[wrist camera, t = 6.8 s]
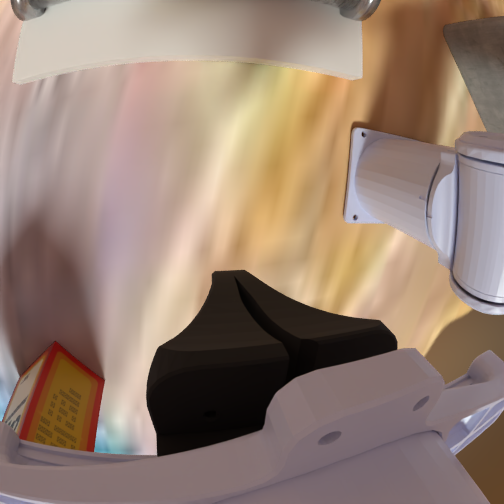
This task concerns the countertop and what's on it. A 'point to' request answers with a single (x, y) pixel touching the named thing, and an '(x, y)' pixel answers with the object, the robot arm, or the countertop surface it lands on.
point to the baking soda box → (56, 402)
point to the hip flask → (481, 65)
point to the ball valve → (350, 3)
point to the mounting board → (188, 36)
